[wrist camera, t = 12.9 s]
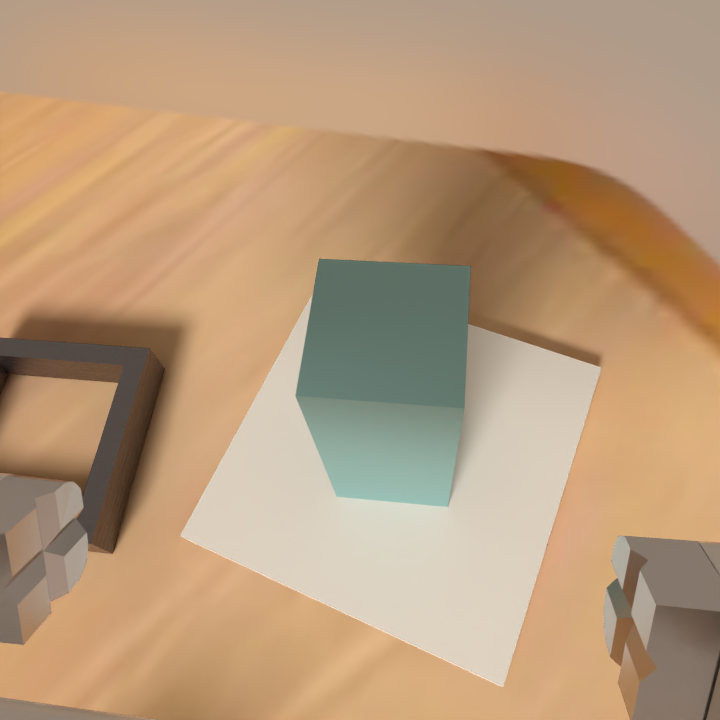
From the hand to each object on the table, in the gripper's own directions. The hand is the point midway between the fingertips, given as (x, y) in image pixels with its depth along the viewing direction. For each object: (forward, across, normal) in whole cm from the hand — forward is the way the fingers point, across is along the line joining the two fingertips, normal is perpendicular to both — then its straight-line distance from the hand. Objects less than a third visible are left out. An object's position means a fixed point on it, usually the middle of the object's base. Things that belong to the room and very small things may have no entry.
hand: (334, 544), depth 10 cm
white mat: (+14, 0, +5) cm, 15 cm away
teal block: (+14, 0, +5) cm, 14 cm away
